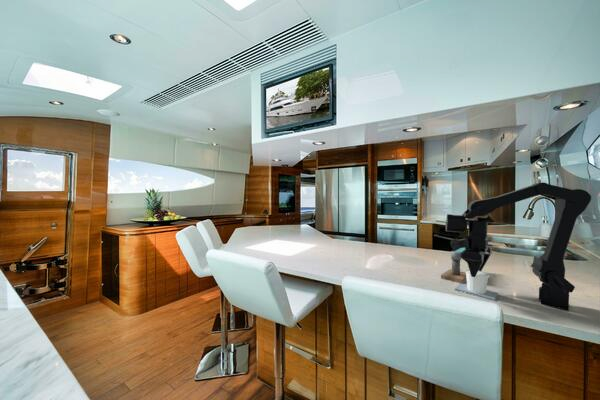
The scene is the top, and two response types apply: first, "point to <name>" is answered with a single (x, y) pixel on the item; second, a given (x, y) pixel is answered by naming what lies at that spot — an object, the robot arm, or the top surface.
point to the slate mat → (487, 295)
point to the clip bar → (457, 254)
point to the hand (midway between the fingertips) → (476, 274)
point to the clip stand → (455, 273)
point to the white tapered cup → (477, 282)
